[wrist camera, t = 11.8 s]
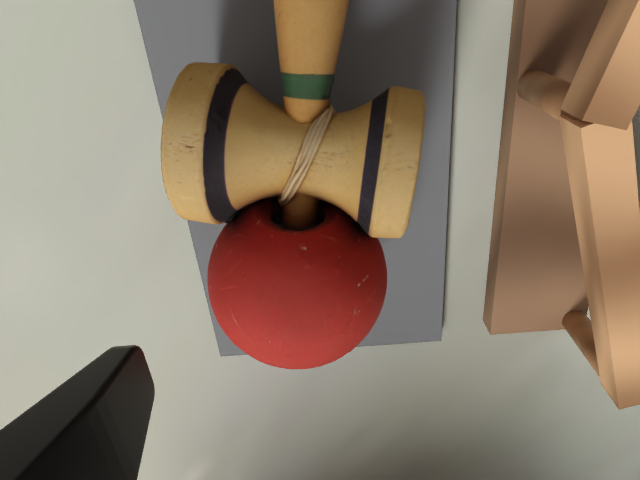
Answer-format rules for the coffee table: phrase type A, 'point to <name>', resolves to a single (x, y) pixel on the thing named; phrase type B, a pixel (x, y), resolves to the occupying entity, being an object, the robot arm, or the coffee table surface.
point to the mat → (346, 94)
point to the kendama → (293, 191)
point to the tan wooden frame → (571, 185)
